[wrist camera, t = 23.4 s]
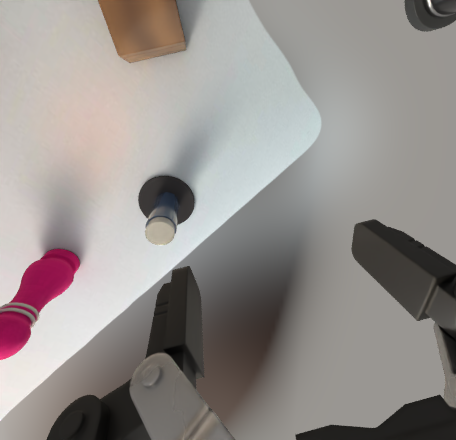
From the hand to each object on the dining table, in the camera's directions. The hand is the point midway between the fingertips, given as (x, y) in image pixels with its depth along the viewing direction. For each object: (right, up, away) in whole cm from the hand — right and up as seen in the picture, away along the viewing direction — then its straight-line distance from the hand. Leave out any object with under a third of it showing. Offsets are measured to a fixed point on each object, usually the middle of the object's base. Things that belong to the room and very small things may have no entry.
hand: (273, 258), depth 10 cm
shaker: (-13, +5, +29) cm, 32 cm away
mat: (-14, +5, +29) cm, 33 cm away
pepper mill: (-36, -6, +32) cm, 48 cm away
